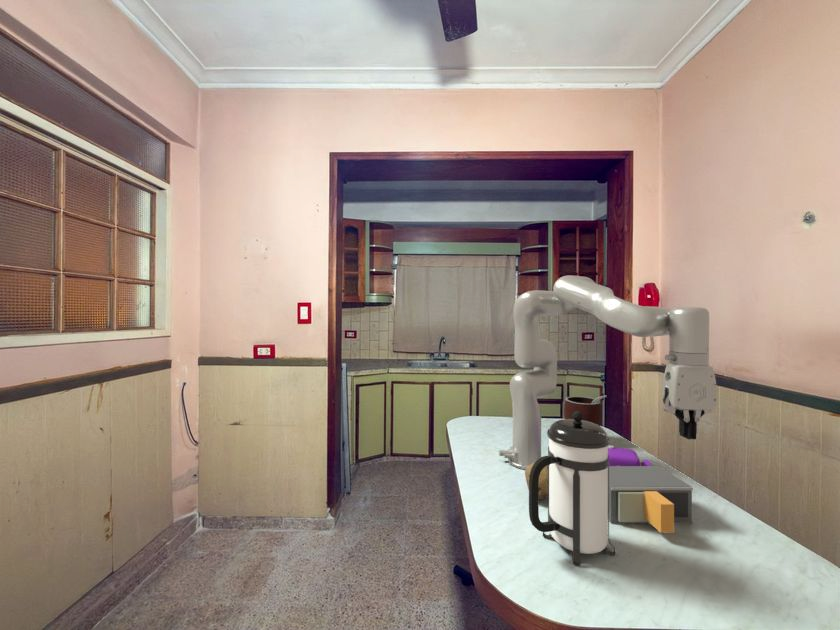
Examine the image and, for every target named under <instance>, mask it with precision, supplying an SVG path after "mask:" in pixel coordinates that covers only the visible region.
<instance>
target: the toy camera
mask: <svg viewBox="0 0 840 630" xmlns="http://www.w3.org/2000/svg"><path fill="white" fill-rule="evenodd" d="M608 455H609V466H652V465H651V462H650V460H649V459H645V460H643V461H640V458H639V456H638V454H637V453H636V451H635V450H633V449H630V448H622V447H615V446H614V445H611V444H609V446H608Z"/></svg>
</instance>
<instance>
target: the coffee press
mask: <svg viewBox="0 0 840 630" xmlns="http://www.w3.org/2000/svg"><path fill="white" fill-rule="evenodd" d="M572 417H573V419H565V418H564V419H559V420H556V421H554V422H553V423H552V424H550V427H549V428H548V430H547V432H546V435H547V438H548V446H547V455H544V456H541V458H539V459H538V460H537V461H536V462H535V463H534V465H533V466H532V469H531V472H530V477H529V489H528V516H529V520H530V522H531V525H532V526H533V527H534V528H535V529H536V530H537V531H539V532H542V537H543V538H544V539H546V540H548V539H550V538H553V539H554V541H555V542H557V544H559V545H561V547H564V548H565V549H567V550H569V551H572V564H573V565H577V566H580V565H581V554H584V555H585V554H587V555H588V554H589V555H591V554H598V553H600V552H602V551H604V550H605V552H606V553H607V554H608V555H609V556H615V555H616V547H615V546H614V544H613V543H612V541H611V539H610V522H609V455H608V446H609V445H611V438H610V437H609V435H608V434H607V431H606V430H605V429H604V428H603V427H602V426H599V425H597V424H595V423H592V422H589V421H584V420H582V419H583V415H582V413H581V412H578V411H576V412H574V413H573V415H572ZM545 466H548V496H547V521H541V520H540V515H539V500H540V499H539V475H540V473H541V471H542V469H543V468H544V467H545ZM546 533H549V534H546ZM608 544H609V546H610V547H611V549H612V551H611V550H610V549H608V547H607V545H608Z"/></svg>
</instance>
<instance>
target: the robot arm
mask: <svg viewBox="0 0 840 630" xmlns="http://www.w3.org/2000/svg"><path fill="white" fill-rule="evenodd" d="M552 289H553V290H540V289H536V290H534V289H533V290H528V291H526V292H524V293H522V294H520V295H519V296H518V297H517V298H516V301H515V302H514V305H513V308H512V309H513V322H514V351H513V352H514V361H515V363H516V365H517V366H518V367H520V368H523V369H530V368H533V370H528V371H520V372H518V373H516V374H514V375H513V376H512V377H511V379H510V381H509V391H510V392H509V393H510V396H511V404H512V407H511V408H512V446H510V448H509V449H507V450H505V449H504V450H503V449H499V450H498V455H499V457H504V459H507V461H508V463H509V464H510V465H511V466H513V467H515V468H517V469H521V470H526V468H527V467H528V466H529V465H530V464H532V463H534V462H536V461H537V460H538V459H539V458H541V457H542V411H541V407H540V405H539V402H538V399H539V398H544V397H549V396H550V395H553V393H554V392H555V391H556V388H557V383H558V382H557V381H558V380H557V378H558V377H557V376H558V353H557V350H556V348H555V346H554V344H553V343H552V342H551V341H549V340H547V339H541V326H540V323H539V320H538V319H537V317H556V316H561V315H564V314H566V313H568V312H570V311H574V310H575V309H579V310H582V311H584V312H587V313H589V314H590V315H593V316H595V317H596V318H597V319H598V320H599V321H602V323H604V324H606V325H608V326H609V327H612V328H614V329H616V330H619V331H621V332H623V333H625V334H629V335H631V336H634V337H638V338H647V337H648V338H649V337H662V336H663V337H664V336H668V340H669V341H668V345H669V346H668V347H669V348H668V349H669V351H668V354H665V355H664V360H665V361H668V363H667V364H666V365H665V366H666V367H665V369H664V370H665V371H664V374H663V380H662V381H663V382H662V391H661V393H662V395H661V396H662V397H661V398H662V403H663V404H664V406H663V411H664V412H665V413H666V412H667V413H669V414H672V415H674V416H675V417H676V419H678V432H679V436H680V437H683V438H685V439H687V440H697V432H698V431H697V426H698V424H697V423H699V422H700V421H701V418H702V417H703V416H704V415H707V414H711V413H713V411H714V409H717V408H718V389H717V387H718V386H717V380H716V379H717V378H716V375H715V371H714V368H713V366H710V312H709V310H708V309H706V308H705V307H695V306H688V307H687V306H686V307H682V306H680V307H674V308H673V307H665V306H652V305H651V306H648V305H646V306H643V305H638V304H637V303H633V302H631V301H628V300H625V299H622V298H621V297H617V296H615V294H614V291H613V290H612V289H611V288H610V287H607V286H604V285H602V284H599V283H596V281H594V280H593V279H592V278H590V277H587V276H580V275H572V274H571V275H569V274H568V275H563V276H561V277H559V278H557V280H556V281H555V283H554V284H553V288H552Z"/></svg>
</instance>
